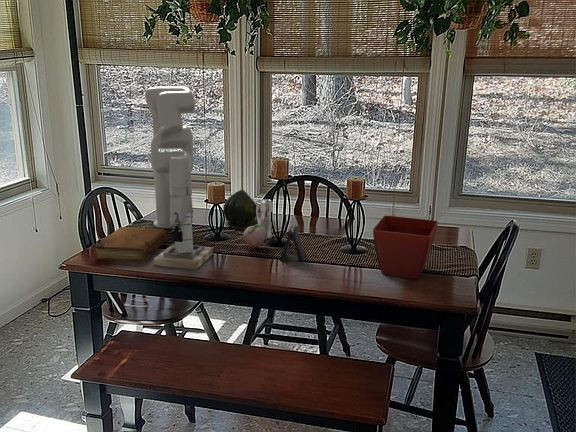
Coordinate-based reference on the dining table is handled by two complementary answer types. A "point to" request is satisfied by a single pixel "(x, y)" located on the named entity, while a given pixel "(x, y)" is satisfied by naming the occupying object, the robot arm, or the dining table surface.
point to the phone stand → (298, 246)
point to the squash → (240, 208)
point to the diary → (130, 244)
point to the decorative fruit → (254, 235)
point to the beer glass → (264, 215)
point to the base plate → (183, 257)
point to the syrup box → (185, 236)
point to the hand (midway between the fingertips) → (183, 237)
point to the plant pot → (403, 245)
